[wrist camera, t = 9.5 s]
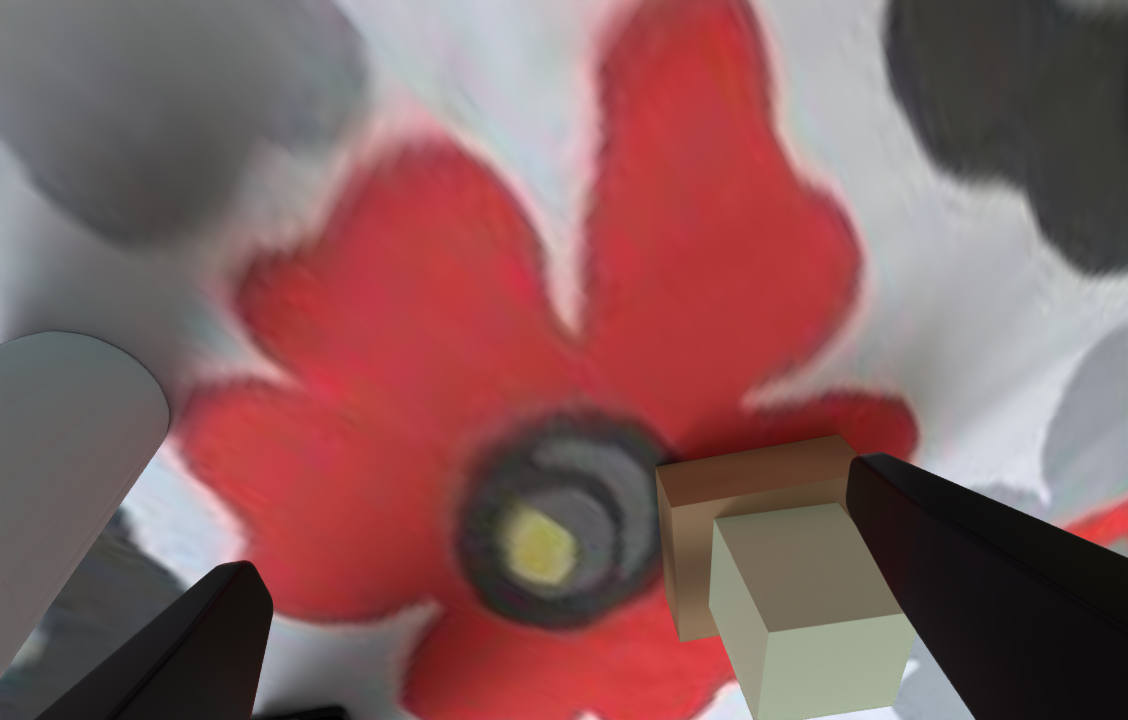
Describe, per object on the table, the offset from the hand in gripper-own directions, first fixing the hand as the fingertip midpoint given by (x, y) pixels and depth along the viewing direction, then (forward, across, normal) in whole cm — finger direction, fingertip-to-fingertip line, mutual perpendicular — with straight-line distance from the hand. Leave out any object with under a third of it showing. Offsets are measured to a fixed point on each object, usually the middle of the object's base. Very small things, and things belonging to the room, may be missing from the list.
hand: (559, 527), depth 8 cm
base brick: (+12, -8, +13) cm, 20 cm away
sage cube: (+10, -8, +13) cm, 18 cm away
